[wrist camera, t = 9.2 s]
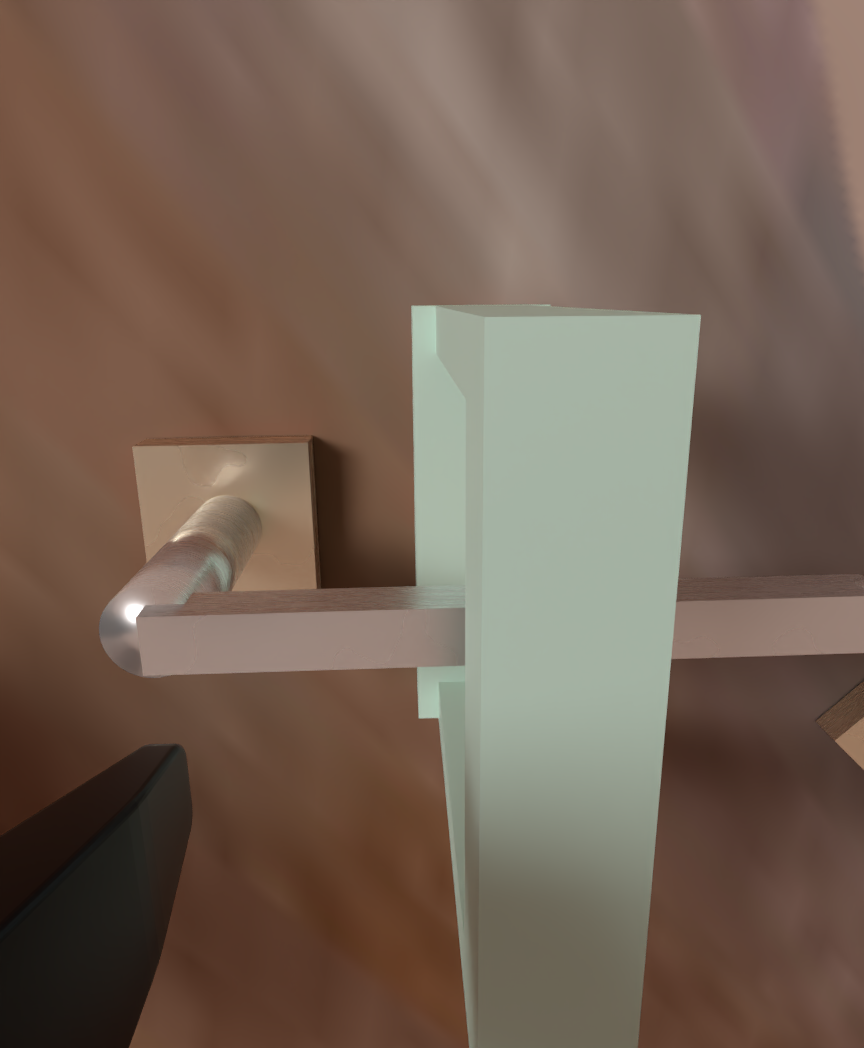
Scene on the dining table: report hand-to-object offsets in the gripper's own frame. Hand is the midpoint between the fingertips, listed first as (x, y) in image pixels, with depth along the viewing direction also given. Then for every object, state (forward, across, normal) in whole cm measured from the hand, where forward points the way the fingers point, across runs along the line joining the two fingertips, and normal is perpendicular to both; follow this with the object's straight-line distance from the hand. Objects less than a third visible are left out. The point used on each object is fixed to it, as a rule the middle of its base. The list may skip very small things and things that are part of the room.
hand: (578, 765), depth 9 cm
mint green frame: (+11, 0, 0) cm, 11 cm away
